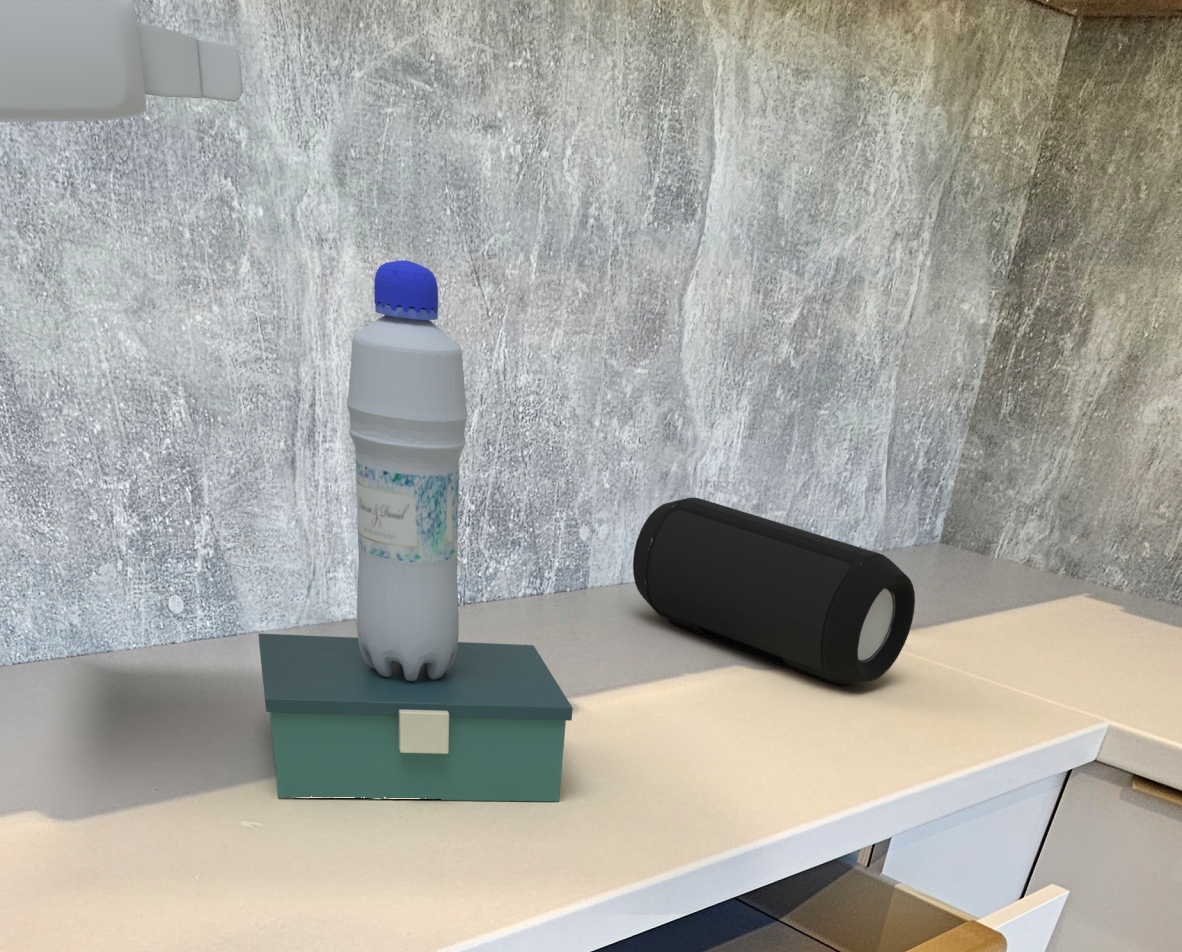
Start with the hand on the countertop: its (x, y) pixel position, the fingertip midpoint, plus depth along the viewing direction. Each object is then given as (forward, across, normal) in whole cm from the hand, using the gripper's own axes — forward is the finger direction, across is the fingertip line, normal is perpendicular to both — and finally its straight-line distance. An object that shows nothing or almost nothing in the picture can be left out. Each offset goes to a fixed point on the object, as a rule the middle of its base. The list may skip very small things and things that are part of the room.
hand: (220, 74), depth 55 cm
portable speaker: (+48, -23, -32) cm, 62 cm away
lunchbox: (+9, 0, -32) cm, 33 cm away
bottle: (+9, 0, -26) cm, 28 cm away
